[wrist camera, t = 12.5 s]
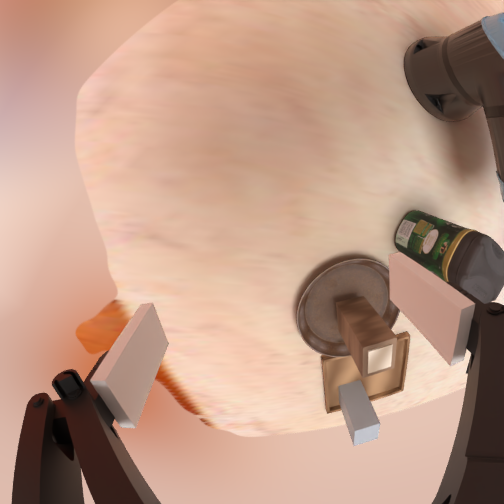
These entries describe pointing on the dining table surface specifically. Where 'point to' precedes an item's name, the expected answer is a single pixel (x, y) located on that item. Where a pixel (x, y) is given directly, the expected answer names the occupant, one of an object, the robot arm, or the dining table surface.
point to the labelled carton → (366, 336)
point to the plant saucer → (340, 289)
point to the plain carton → (358, 412)
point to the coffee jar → (453, 254)
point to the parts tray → (374, 385)
